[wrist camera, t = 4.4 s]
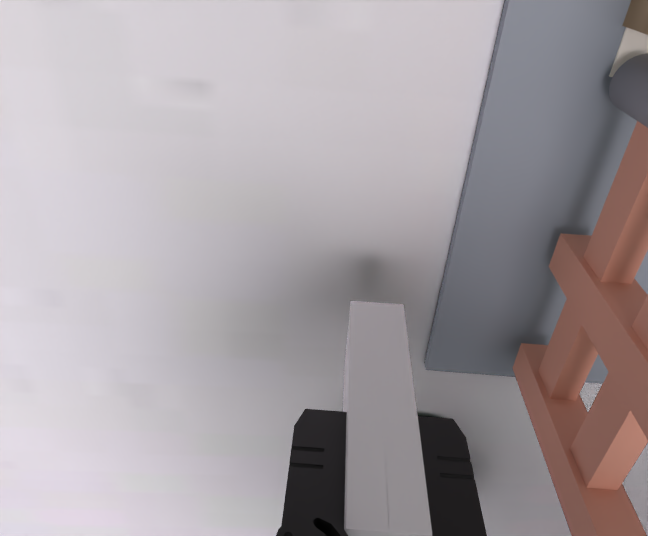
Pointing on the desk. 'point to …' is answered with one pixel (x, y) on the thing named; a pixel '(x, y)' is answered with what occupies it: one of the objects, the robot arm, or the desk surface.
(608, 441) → the hinged fence section
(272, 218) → the desk surface
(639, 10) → the fixed fence section
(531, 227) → the card
